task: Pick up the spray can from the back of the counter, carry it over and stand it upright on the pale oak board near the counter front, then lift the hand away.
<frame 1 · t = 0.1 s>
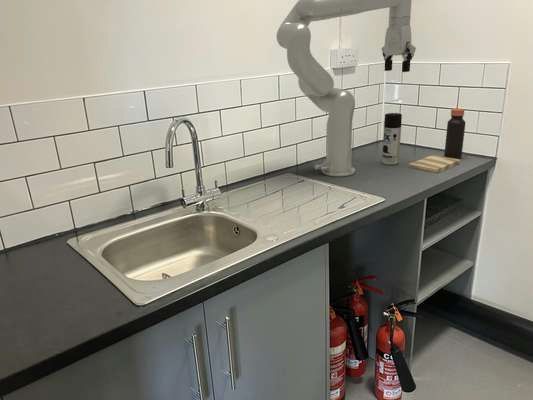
hand: (396, 71, 166), 36 cm above the worktop, tool pointing down, fingers open, 9 cm apart
bottle: (452, 158, 184), on the worktop
spray can: (390, 163, 180), on the worktop
oak board: (434, 165, 174), on the worktop
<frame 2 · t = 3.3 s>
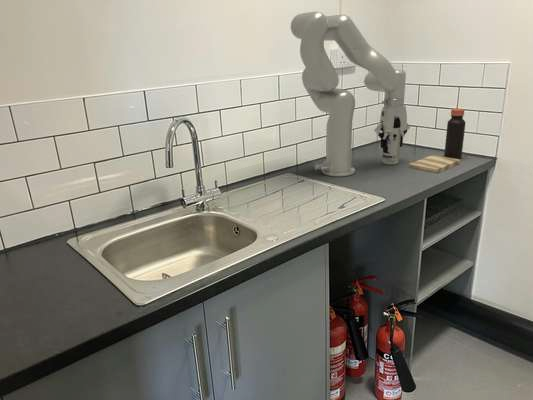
hand: (391, 146, 178), 7 cm above the worktop, tool pointing down, fingers closed on spray can, 6 cm apart
spray can: (390, 163, 180), on the worktop, touching gripper
everything else where it was.
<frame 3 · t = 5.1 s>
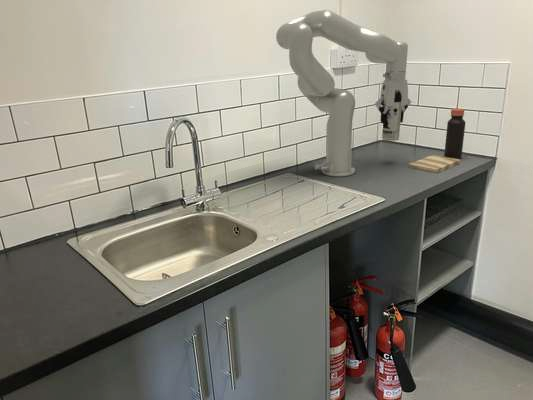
hand: (391, 122, 174), 17 cm above the worktop, tool pointing down, fingers closed on spray can, 6 cm apart
spray can: (390, 139, 177), point 10 cm above the worktop, touching gripper
everything else where it was.
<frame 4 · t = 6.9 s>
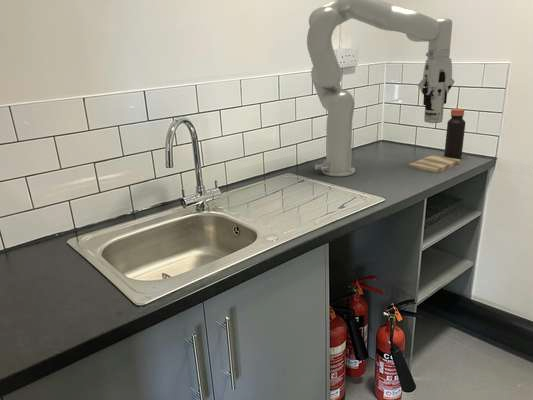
hand: (434, 103, 167), 24 cm above the worktop, tool pointing down, fingers closed on spray can, 6 cm apart
spray can: (433, 122, 169), point 17 cm above the worktop, touching gripper
everything else where it was.
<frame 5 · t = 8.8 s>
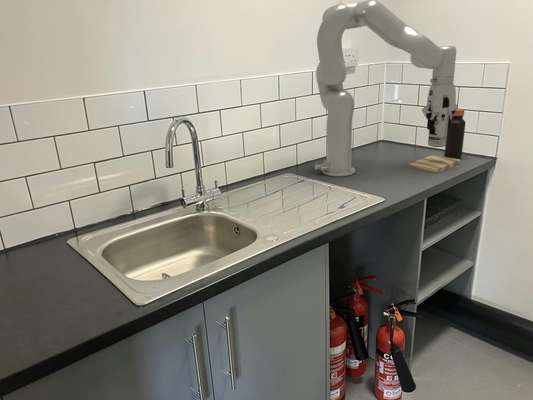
hand: (438, 128, 169), 15 cm above the worktop, tool pointing down, fingers closed on spray can, 6 cm apart
spray can: (436, 145, 172), point 8 cm above the worktop, touching gripper
everything else where it was.
when the fingers open (9 cm above the worktop, at t = 10.4 s): spray can stays where it is, resting on oak board.
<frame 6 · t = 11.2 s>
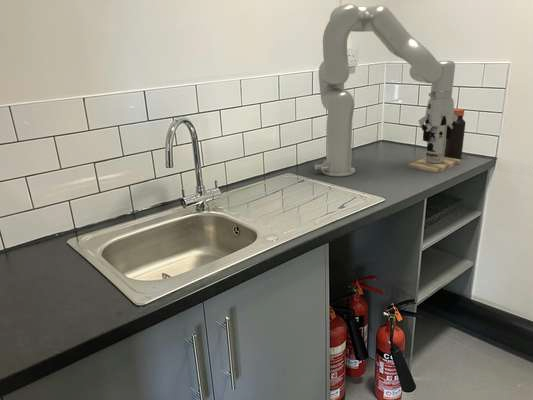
hand: (436, 139, 171), 10 cm above the worktop, tool pointing down, fingers open, 9 cm apart
spray can: (434, 162, 174), point 1 cm above the worktop, touching oak board
everything else where it was.
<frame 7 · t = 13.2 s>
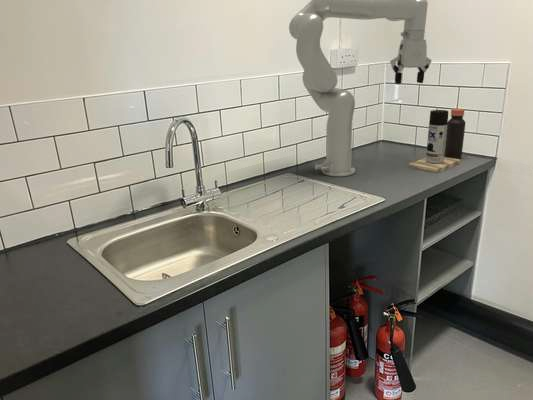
hand: (408, 83, 168), 32 cm above the worktop, tool pointing down, fingers open, 9 cm apart
nothing on the worktop moved.
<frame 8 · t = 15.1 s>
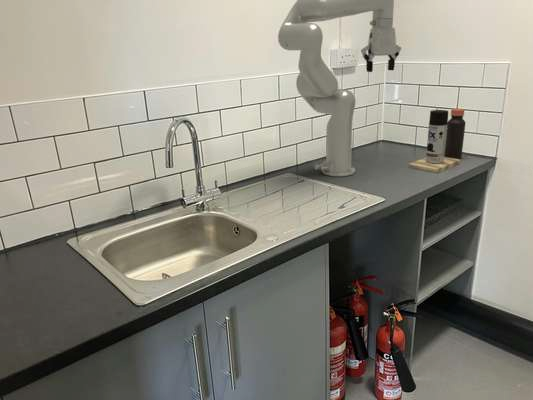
hand: (380, 70, 172), 36 cm above the worktop, tool pointing down, fingers open, 9 cm apart
nothing on the worktop moved.
at the end: spray can inside the target area on the oak board (0.1 cm from its centre), point 1.3 cm above the oak board's base; spray can tilted 0°; the gripper is holding nothing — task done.
